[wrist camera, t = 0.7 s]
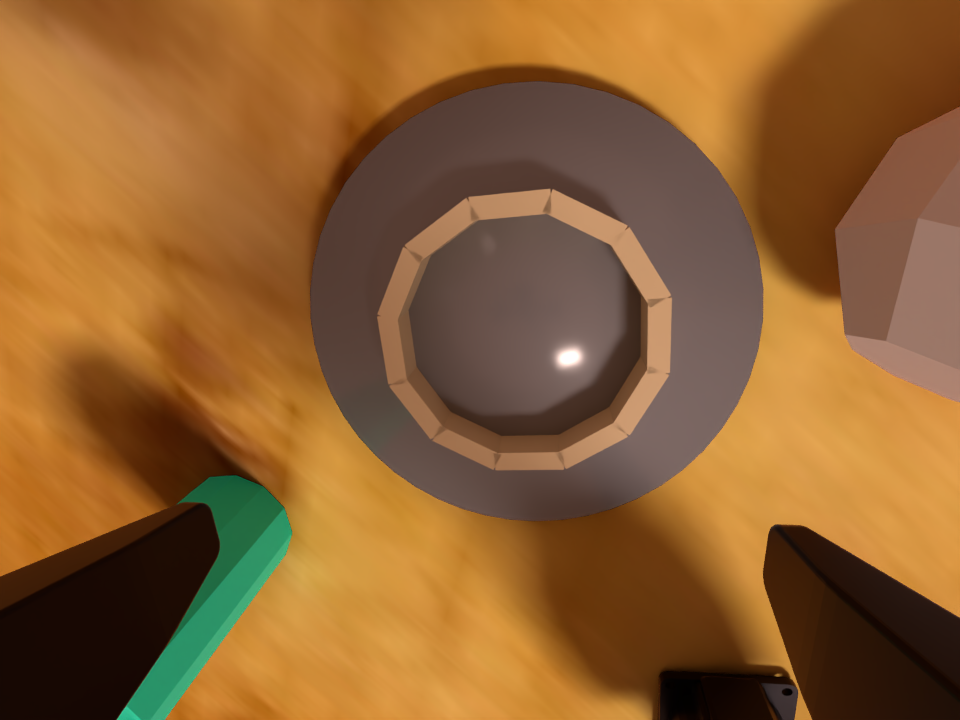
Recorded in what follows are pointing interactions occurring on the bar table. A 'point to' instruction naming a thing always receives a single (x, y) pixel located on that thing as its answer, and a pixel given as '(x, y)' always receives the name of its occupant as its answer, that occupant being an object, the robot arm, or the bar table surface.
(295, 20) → the bar table surface
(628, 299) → the candle holder
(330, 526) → the bar table surface
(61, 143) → the bar table surface
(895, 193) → the chicken leg
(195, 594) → the robot arm
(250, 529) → the candle
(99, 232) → the bar table surface
